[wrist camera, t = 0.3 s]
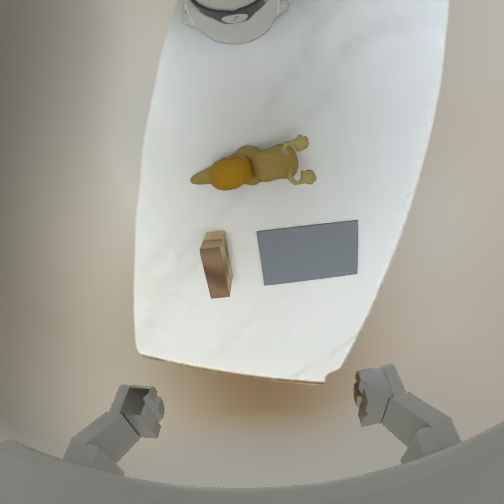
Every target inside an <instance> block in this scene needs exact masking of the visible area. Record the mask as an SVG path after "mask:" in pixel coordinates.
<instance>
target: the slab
mask: <svg viewBox="0 0 504 504" xmlns="http://www.w3.org/2000/svg"><path fill="white" fill-rule="evenodd" d="M200 254H201V259H202V263H203V267H204V271H205V275H206V280H207V284H208V288H209V292H210V296H211V298H221V297H230V290H231V284H232V277H233V274H232V269H231V264H230V259H229V254H228V248H227V243H226V238H225V232H224V231H218V232H210V233H206V236H205V238H204V241H203V243H202V245H201V248H200Z"/></svg>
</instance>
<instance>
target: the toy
mask: <svg viewBox="0 0 504 504" xmlns="http://www.w3.org/2000/svg"><path fill="white" fill-rule="evenodd" d="M289 144H290V145H294V147H295V148H296V150H297V151H301V150H304V149H306V148H307V147H308V144H309V143H308V139H307V137H305V136H302V135H298V136H297V137H296V138H295V139H294V140H291V141H288V142H285V143H284V144H278V145H275V146H273V147H272V148H270V149H267V150H263V151H261V150H260V149H258V148H256V147H253V146H244V147H241V148H240V149H239V150H238V151H236V152H235V153H234V154H233V155H231V156H230V157H228V158H226V157H225V158H223V159H221V160H219V161H218V162H215V163H214V164H213V165H212V166H211V167H210V168H208V169H206V170H204V171H202V172H200V173H197V174H196V175H194V176H193V177H192V178H191V180H190V181H191V183H193V184H212V185H213V186H214V187H215V188H216V189H220V190H231V189H235V188H238V187H240V186H241V185H243V184H248V185H256V184H258V183H260V182H261V181H262V182H268V181H272V180H276V179H281V178H288V180H289V181H290V182H291V183H293V184H295V185H297V184H303V183H306V184H313V182H315V181H316V175H315V173H314V172H313V171H312V170H306V171H303V170H302V171H301V179H300V180H299V181H296V180H295V179H294V178H293V176H294V175H295V174H296V172H297V168H298V160H297V155H296V153H295V151H294V149H293V148H292V147H291V146H288V145H289Z"/></svg>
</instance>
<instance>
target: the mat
mask: <svg viewBox="0 0 504 504" xmlns="http://www.w3.org/2000/svg"><path fill="white" fill-rule="evenodd" d="M257 236H258V243H259V250H260V257H261V264H262V271H263V278H264V286H265V285H274V284H282V283H291V282H299V281H307V280H315V279H323V278H330V277H338V276H345V275H352V274H357V268H358V220H353V221H344V222H335V223H326V224H317V225H308V226H299V227H291V228H282V229H274V230H265V231H257Z"/></svg>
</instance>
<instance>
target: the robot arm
mask: <svg viewBox="0 0 504 504" xmlns="http://www.w3.org/2000/svg"><path fill="white" fill-rule="evenodd" d="M287 8H288V3H287V1H286V0H281V2H280V0H184V8H183V17H182V20H183V22H184V23H185V24H186V25H188V26H191V27H195V28H197V29H199V30H200V31H201V32H202V33H204V34H205V35H206V36H207V37H209V38H211V39H213V40H215V41H218V42H221V43H227V44H239V43H245V42H249V41H251V40H254V39H256V38H258V37H260V36H261V35H263V34H264V33H265V32H266V31H267V30H268V29H269V28H270V26H271V25H272V23H273V22H274V20H275V18H276V17H277V16H279V15H280V14H282V13H283V12H285V11H286V10H287ZM355 378H356V383H355V384H354V400H355V404H356V406H358V407H359V413H358V415H359V419H360V422H361V426H362V427H363V426H368V425H373V424H377V423H381V424H383V425H384V426H385V427H386V428H387V429H388V430H389V431H390V432H391V433H393V434H394V435H395V436H396V437H397V438H398V439H399V440H401V441H402V442H403V443H404V444H405V445H406V446H407V447H408V449H407V450H406V452H405V453H404V455H403V457H402V459H401V464H400V465H397V466H394V467H390V468H387V469H383V470H379V471H375V472H371V473H367V474H363V475H358V476H353V477H348V478H343V479H337V480H331V481H325V482H318V483H311V484H303V485H293V486H281V487H264V488H214V487H197V486H184V485H175V484H167V483H159V482H153V481H147V480H140V479H135V478H130V477H125V476H124V471H123V470H122V469H121V468H120V467H119V466H118V465H117V464H116V463H117V462H118V461H119V460H120V459H121V458H122V457H123V456H124V455H125V454H126V453H127V452H128V451H129V450H130V449H131V448H132V447H133V445H134V444H135V443H136V442H137V441H138V440H139V439H140V437H146V438H158V435H159V432H160V428H161V426H160V424H159V421H160V420H161V419H162V418H163V416H164V403H163V401H162V399H161V398H160V397H159V396H157V390H156V389H155V387H150V386H137V385H124V384H122V385H121V386H120V387H119V389H118V392H117V394H116V397H115V399H114V401H113V403H112V406H111V408H110V411H109V412H105V413H104V414H103V415H102V416H100V417H99V418H98V419H97V420H95V421H94V422H93V423H91V424H90V425H89V426H87V427H86V428H85V429H83V430H82V431H81V432H79V433H78V434H77V435H75V436H74V437H73V438H72V439H71V441H70V443H69V446H68V448H67V450H66V453H65V455H64V458H63V459H59V458H57V457H54V456H51V455H48V454H46V453H43V452H40V451H38V450H36V449H33V448H31V447H28V446H26V445H24V444H22V443H19V442H17V441H15V440H12V439H8V440H5V441H3V442H1V443H0V504H504V421H503V422H501V423H499V424H497V425H495V426H493V427H492V428H490V429H488V430H486V431H484V432H482V433H480V434H478V435H475V436H473V437H471V438H469V439H467V440H465V441H462V442H461V440H460V438H459V435H458V433H457V431H456V429H455V426H454V424H453V422H452V420H451V418H450V417H448V416H447V415H445V414H443V413H442V412H440V411H439V410H437V409H435V408H433V407H432V406H431V405H429V404H427V403H426V402H424V401H423V400H421V399H420V398H418V397H416V396H414V395H413V394H412V393H410V392H408V393H406V391H405V389H404V386H403V384H402V382H401V379H400V377H399V375H398V373H397V370H396V368H395V366H394V365H393V364H388V365H384V366H378V367H373V368H368V369H364V370H360V371H357V372H356V375H355Z"/></svg>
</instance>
